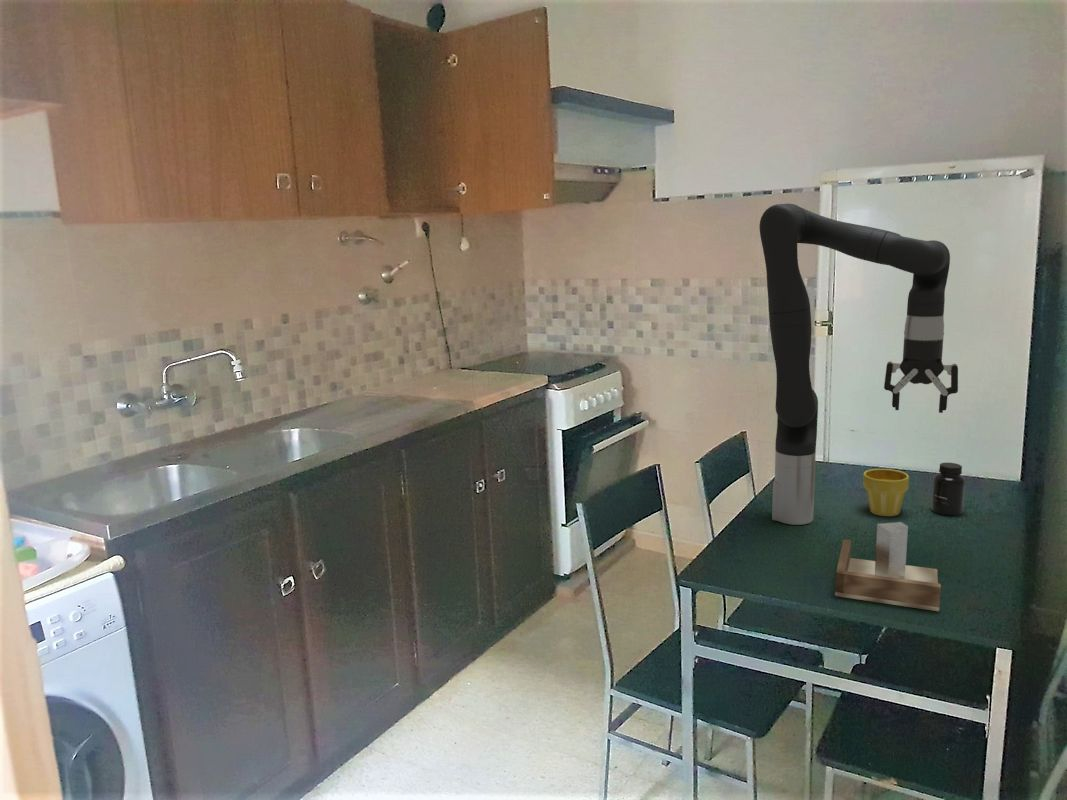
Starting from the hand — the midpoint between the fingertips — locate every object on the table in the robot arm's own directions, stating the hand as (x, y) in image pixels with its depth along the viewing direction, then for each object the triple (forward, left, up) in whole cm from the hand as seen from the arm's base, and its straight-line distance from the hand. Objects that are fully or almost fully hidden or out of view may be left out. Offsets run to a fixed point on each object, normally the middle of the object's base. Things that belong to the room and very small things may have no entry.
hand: (918, 410), depth 172 cm
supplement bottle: (+8, +23, -30) cm, 39 cm away
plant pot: (-6, +18, -30) cm, 36 cm away
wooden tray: (-4, -25, -30) cm, 39 cm away
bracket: (-3, -24, -29) cm, 38 cm away
